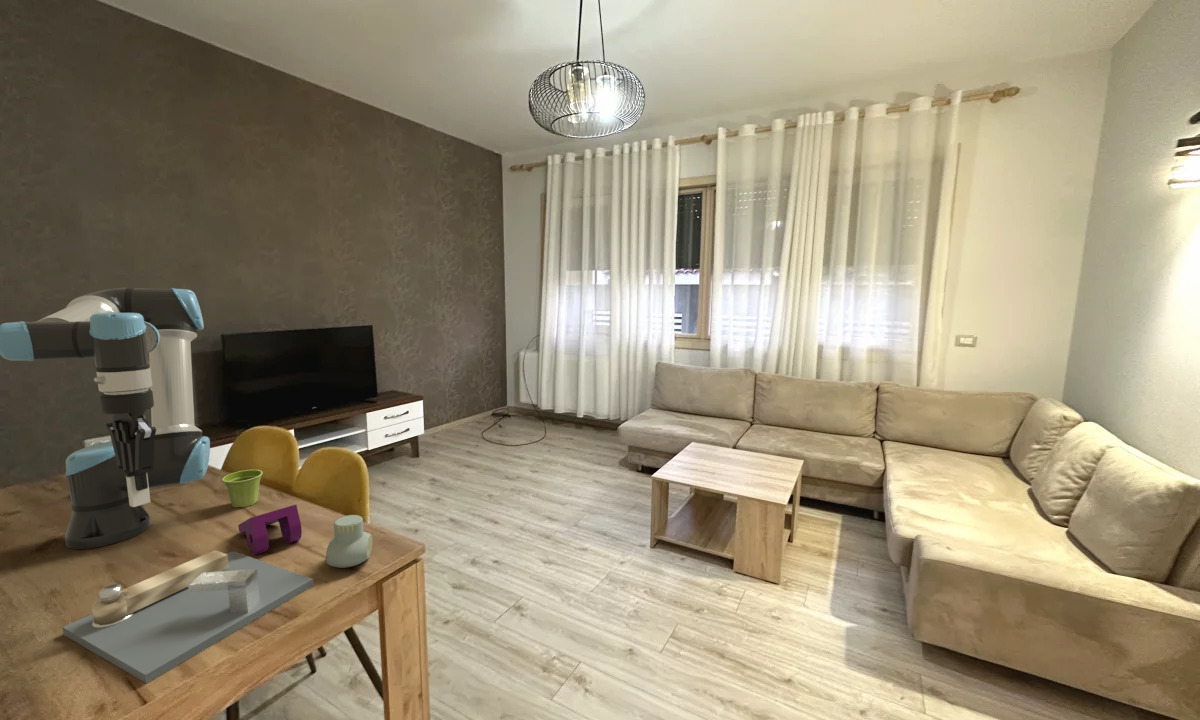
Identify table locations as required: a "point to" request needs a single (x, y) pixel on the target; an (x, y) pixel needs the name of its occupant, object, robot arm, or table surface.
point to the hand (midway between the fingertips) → (140, 503)
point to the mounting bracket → (258, 524)
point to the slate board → (184, 622)
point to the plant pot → (243, 487)
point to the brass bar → (158, 587)
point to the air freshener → (349, 543)
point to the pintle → (108, 596)
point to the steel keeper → (231, 587)
